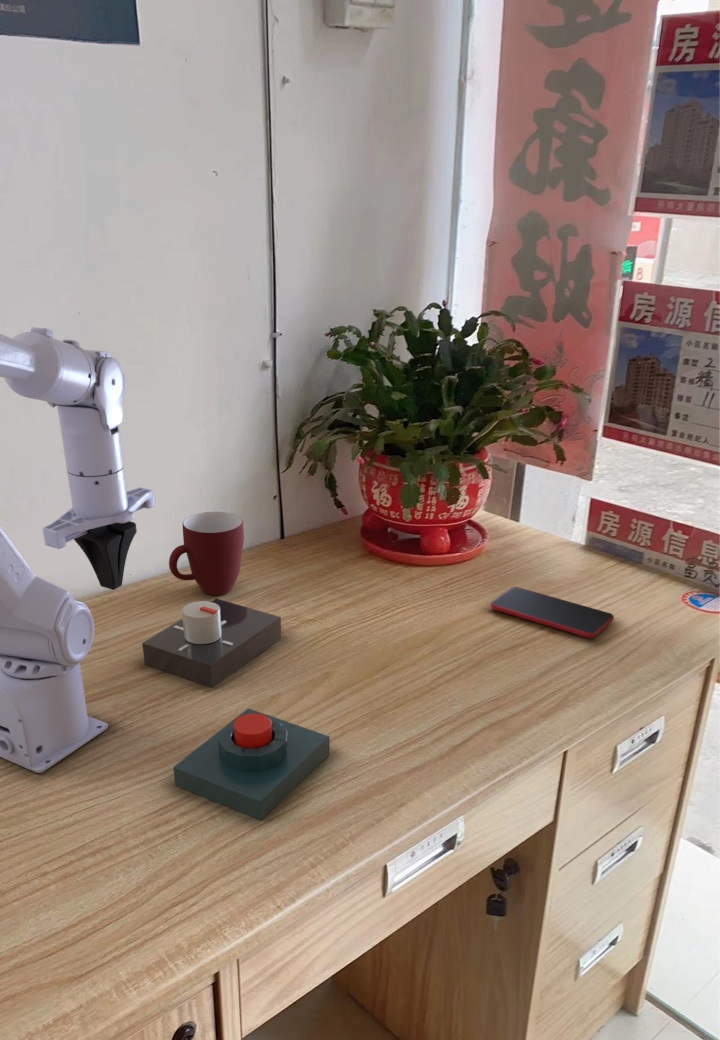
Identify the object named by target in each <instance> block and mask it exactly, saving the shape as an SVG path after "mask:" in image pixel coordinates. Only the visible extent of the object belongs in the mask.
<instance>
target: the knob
mask: <svg viewBox="0 0 720 1040" xmlns="http://www.w3.org/2000/svg"><path fill="white" fill-rule="evenodd" d="M181 615H182V616H181V617H182V619H183V629H184V638H185V639H186V640H187V641H188V642H190V643H194V644H208V643H212V642H215V641H217V640H218V639H220V638H221V636H222V629H221V612H220V607H219V605H217V604H216V603H213V602H211V601H207V600H199V601H193V602H190V603H188V604H185V605H184V606H183V607H182V609H181Z"/></svg>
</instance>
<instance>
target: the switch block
mask: <svg viewBox="0 0 720 1040" xmlns="http://www.w3.org/2000/svg"><path fill="white" fill-rule="evenodd" d="M246 714H262V715H265V716H267V717H268V718H269V719H270V720H271V723H272V740H271V742H270V743H269V744H268V745H266V746H263V747H260V748H243V747H240V746H238V745H237V744H236V743H235V741H234V722H235V720H236V719H237V718H239V717H241V716H243V715H246ZM330 738H331V737H330V736H329V735H327V734H324V733H321V732H318V731H315V730H313V729H310V728H308V727H304V726H300V725H298V724H295V723H292V722H289V721H286V720H283V719H281V718H278V717H275V716H272V715H270V714H266V713H263V712H260V711H257V710H255V709H251V708H247V709H245V710H244V711H243V712H241V713H240V714H239V715H238V716H236V717H235V718H233V720H231V721H230V722H229V723H227V725H225V726H224V727H223V728H222V729H220V730H219V731H217V732H216V733H215V734H214V735H212V736H211V737H210V738H208V739H207V740H206V741H205V742H203V743H202V744H201V745H200V746H198V747H197V748H196V749H194V750H193V751H192V752H191V753H190V754H188V755H187V756H186V757H184V758H183V759H181V760H180V761H179V762H177V764H176V765H174V766H173V776H174V785H175V787H178V788H180V789H183V790H184V791H185V790H186V791H188V792H191V793H193V794H196V795H198V796H201V797H203V798H205V799H207V800H210V801H212V802H215V803H218V804H220V805H222V806H225V807H227V808H229V809H232V810H234V811H237V812H239V813H242V814H244V815H246V816H249V817H252V818H254V819H256V820H260V821H262V820H263V819H264V818H265V817H266V816H267V815H268V814H269V813H270V812H271V811H272V810H274V809H275V808H276V807H277V806H278V805H279V804H280V803H281V802H282V801H283V800H284V799H285V798H286V797H287V796H288V795H289V794H290V793H291V792H292V791H293V790H294V789H295V788H296V787H297V786H298V785H299V784H300V783H301V782H302V781H304V779H305V778H307V776H309V775H310V774H311V772H312V771H314V770H315V769H316V768H317V767H318V766H319V765H320V764H321V763H322V762H323V761H324V760H325V759H326V758H327V757H328V756H330V749H331V748H330V744H331V743H330V741H331V739H330Z"/></svg>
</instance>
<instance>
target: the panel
mask: <svg viewBox="0 0 720 1040" xmlns="http://www.w3.org/2000/svg"><path fill="white" fill-rule="evenodd" d="M210 602H213V603H216V604H217V605H219V607H220V612H221V629H222V636H221V638H220V639H218V640H217V641H215V642H212V643H208V644H194V643H190V642H188V641H187V640H186V639H185V638H184V629H183V618H181V619H179V620H178V621H176V622H175V623H172V624H171V625H169V626H168V627H166V628H164V629H163V630H161V631H159V632H157V633H156V634H155V635H154V634H153V636H151V637H149V638H147V639H146V640H144V641H143V642H141V645H142V653H143V662H144V663H143V664H144V666H146V667H150V668H153V669H156V670H159V671H162V672H163V673H167V674H170V675H173V676H177V677H179V678H182V679H185V680H188V681H191V682H194V683H197V684H200V685H203V686H205V687H207V688H208V687H209V688H214V687H215V686H216V685H218V684H220V682H222V681H223V680H225V679H227V678H228V677H230V676H231V675H232V674H234V673H235V672H236V671H238V670H240V668H242V667H243V666H245V665H247V663H249V662H250V661H252V660H253V659H254V658H256V657H257V656H258V655H260V654H261V653H263V652H264V651H266V650H267V649H268V648H270V647H271V646H273V645H274V644H275V643H277V642H278V641H280V640H281V639H282V617H281V616H278V615H275V614H272V613H269V612H264V611H261V610H257V609H254V608H251V607H247V606H244V605H240V604H236V603H233V602H230V601H226V600H222V599H219V598H215V599H213V600H211V601H210Z"/></svg>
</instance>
